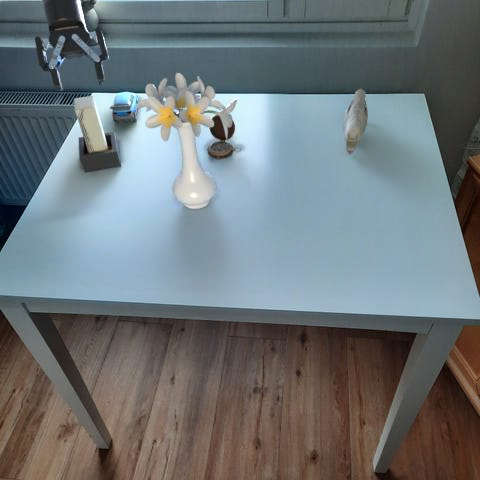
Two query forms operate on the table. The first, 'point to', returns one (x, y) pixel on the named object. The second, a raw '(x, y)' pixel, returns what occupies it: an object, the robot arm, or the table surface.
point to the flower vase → (187, 132)
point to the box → (90, 124)
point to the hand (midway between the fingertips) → (80, 86)
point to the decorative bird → (355, 120)
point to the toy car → (125, 107)
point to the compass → (221, 140)
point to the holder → (100, 155)
